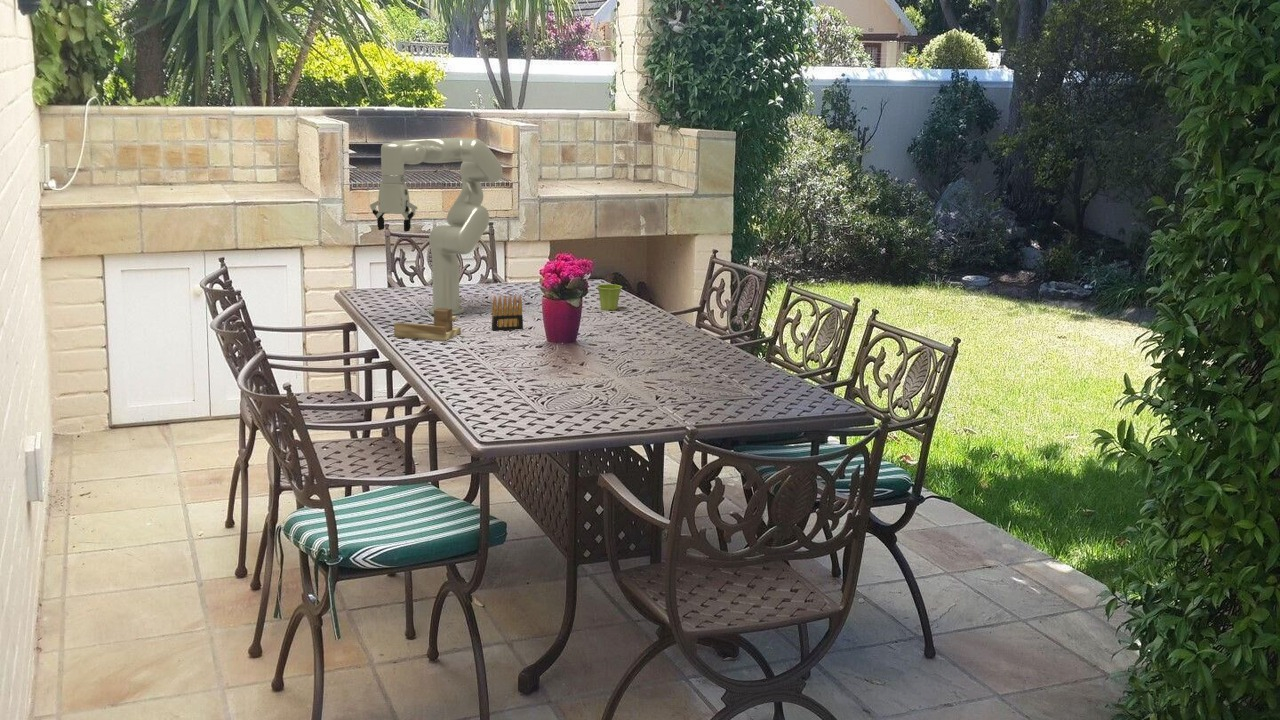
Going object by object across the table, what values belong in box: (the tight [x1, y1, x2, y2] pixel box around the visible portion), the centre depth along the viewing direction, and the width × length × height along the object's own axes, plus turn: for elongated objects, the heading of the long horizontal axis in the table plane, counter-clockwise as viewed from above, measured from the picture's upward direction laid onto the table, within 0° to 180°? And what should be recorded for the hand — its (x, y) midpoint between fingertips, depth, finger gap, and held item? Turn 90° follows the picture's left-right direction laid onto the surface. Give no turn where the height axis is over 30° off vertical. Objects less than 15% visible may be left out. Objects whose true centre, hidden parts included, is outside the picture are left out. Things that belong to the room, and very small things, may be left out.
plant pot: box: [596, 283, 623, 311], centre depth 476 cm, size 9×9×9 cm
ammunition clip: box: [491, 294, 524, 332], centre depth 436 cm, size 11×2×12 cm, turn 110°
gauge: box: [433, 308, 457, 332], centre depth 427 cm, size 12×4×7 cm, turn 164°
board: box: [393, 322, 462, 342], centre depth 425 cm, size 13×18×4 cm
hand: (394, 230), depth 437 cm, fingers open, 9 cm apart
